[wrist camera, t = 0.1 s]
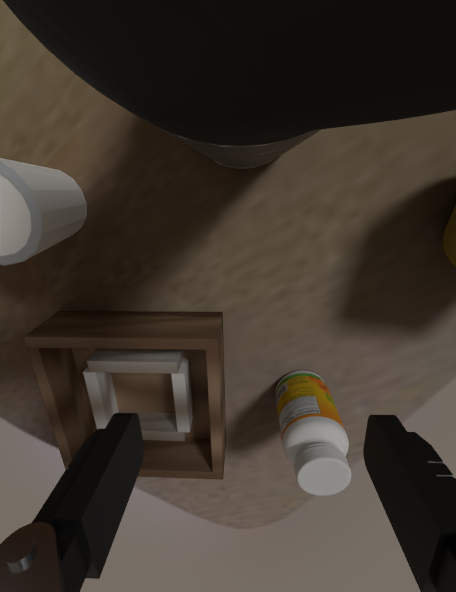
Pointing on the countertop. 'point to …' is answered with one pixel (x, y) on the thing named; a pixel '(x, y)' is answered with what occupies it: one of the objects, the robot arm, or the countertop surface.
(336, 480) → the supplement bottle
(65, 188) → the white cup
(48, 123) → the countertop surface
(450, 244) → the flower pot
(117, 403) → the walled box
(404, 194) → the countertop surface
